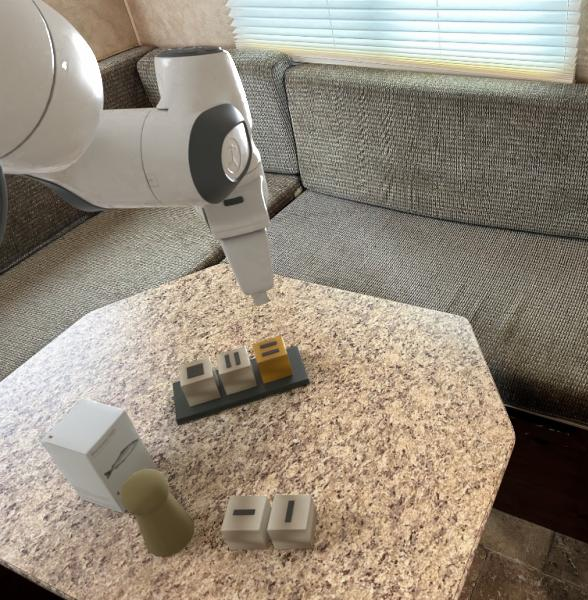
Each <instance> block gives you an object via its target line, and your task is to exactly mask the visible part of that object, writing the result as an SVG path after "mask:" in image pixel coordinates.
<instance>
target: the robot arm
mask: <svg viewBox="0 0 588 600" xmlns="http://www.w3.org/2000/svg"><path fill="white" fill-rule="evenodd" d="M153 64H154V72H155V78H156V82H157V83H156V84H157V88H158V93H159V97H160V100H159V101H158V103H157V104H156V107H141V108H140V107H139V108H117V109H116V108H114V109H113V108H112V109H104V102H105V101H104V98H105V97H104V85H103V84H104V83H103V79H102V75H101V70H100V67H99V64H98V62H97V59H96V56H95V54H94V52H93V50H92V48H91V47H90V45H89V43H88V42H87V41H86V40H85V39H84V36H82V35H81V34H80V32H79V31H78V30H77V29H76V28H75V27H74V26H73V25H72V24H71V23H70V21H68V20H67V19H66V17H64V16H63V15H62V14H60V13H59V12H58V11H56V10H55V9H54V8H53V7H51V6H50V5H49V4H47V3H46V2H45V1H43V0H0V246H1V245H2V242H3V239H4V235H5V233H6V232H5V231H6V226H7V220H8V208H9V207H8V206H9V204H8V203H9V202H8V189H7V183H6V177H5V175H16V176H20V177H23V178H27V179H30V180H33V181H36V182H38V183H40V184H42V185H44V186H46V187H47V188H48V189H50V190H51V191H52V192H54V193H55V194H56V195H58V197H60V198H61V199H62V200H64V201H65V202H66V203H67V204H69V205H70V206H72V207H74V208H75V209H78V210H80V211H83V212H88V213H89V212H91V213H92V212H101V211H113V210H119V209H146V208H147V209H150V208H180V207H181V208H184V207H185V208H187V207H188V208H189V207H194V210H195V211H196V213H197V214H198V215H200V216H201V218H202V220H204V222H205V223H206V225H207V227H208V230H209V232H210V234H211V235H212V238H213V240H215V241H219V244H220V246H221V249H222V251H223V253H224V256H225V257H226V260H227V262H228V265H229V267H230V269H231V271H232V274H233V276H234V277H235V278H234V279H235V281H236V283H237V285H238V287H239V288H240V291H241V292H242V293H243V295H245V296H251V298H252V301H253V305H254V306H258V307H259V306H262V305H266V304H268V303H269V296H268V293H267V291H270V290H272V289H273V288H274V283H275V281H274V280H275V277H274V270H273V261H272V255H271V254H272V253H271V248H270V240H269V235H268V231H267V228H270V226H271V220H270V219H271V218H270V214H269V210H268V203H269V196H270V192H269V188H268V183H267V179H266V176H265V171H264V166H263V161H262V157H261V154H260V152H259V149H258V148H257V147H256V145H255V142H254V140H253V120H252V119H253V118H252V115H251V111H250V107H249V104H248V100H247V98H246V92H245V90H244V87H243V83H242V81H241V78H240V76H239V73H238V70H237V68H236V65H235V63H234V61H233V59H232V57H231V54H230V53H229V51H227V50H226V49H223V48H222V47H220V46H217V45H193V46H192V45H191V46H183V47H173V48H167V49H165V50H162V51H160V52H159V53H158V54H156V55H155V56H154V59H153Z"/></svg>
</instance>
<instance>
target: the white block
mask: <svg viewBox="0 0 588 600" xmlns="http://www.w3.org/2000/svg"><path fill="white" fill-rule="evenodd" d="M271 508H272V509H271V514H270V518H269V523H268V528H267V531H268V533H269V536H270V541H271V543H272V545H273V548H274V550H312V549H313V548H314V542H315V536H316V528H317V522H318V512H317V511H318V510H317V507H316V505H315V501H314V497H313V495H312V493H302V494H299V493H298V494H274V495H273V499H272V504H271Z"/></svg>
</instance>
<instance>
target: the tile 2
mask: <svg viewBox="0 0 588 600" xmlns="http://www.w3.org/2000/svg"><path fill="white" fill-rule="evenodd" d="M249 355H250V354H249V352H248V349H247V346H245V345H244V346H240V347H238V348H234V349H230V350H227V351H224V352H220V353H216V354H215V361H216V365H217V369H218V371H219V376H220V378H221V381H222V383H223V386H224V389H225V391H226V394H227V395H229V394H233V393H236V392H239V391H242V390H246V389H249V388H252V387H255V386H257V383H256V379H255V375H254V371H253V367H252V364H251V361H250V360H251V358H250V356H249Z"/></svg>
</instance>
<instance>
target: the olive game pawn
mask: <svg viewBox="0 0 588 600" xmlns="http://www.w3.org/2000/svg"><path fill="white" fill-rule="evenodd" d="M120 496H121V502H122V504H123V506H124V507H125V508H126V510H125V511H127V512H129V513H131V514H132V515H134V517H135V520H136V522H137V525H138V528H139V530H140V534H141V536H142V538H143V542H144V544H145V547H146V549H147V550H148V552H149V553H150V554H151V555H153V556H155V557H158V558H165V557H166V558H167V557H171V556H174V555H175V554H176V555H177V554H178V553H180V552H182V550H184V549H185V548H186V547H188V545H189V544H190V542H191V541H192V539H193V537H194V535H195V530H196V524H195V519H194V518H193V517H192V516H191V515H190V513H189V512H188V511H187V510H186V509H185V508H184V507H183V506H182V505H181V504H180V502H179V501H178V500H177V499H176V498H175V497H174V496H173V494H172V493H171V492H170V484H169V481H168V479H167V477H166V476H165V474H164V473H162V471H159V470H158V469H157V470H154V469H143V470H140V471H137V472H135V473H134V474H132V475H131V476H130V477H129V478H128V479H127V480H126V481H125V482H124V484H123V486H122V489H121V493H120Z"/></svg>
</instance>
